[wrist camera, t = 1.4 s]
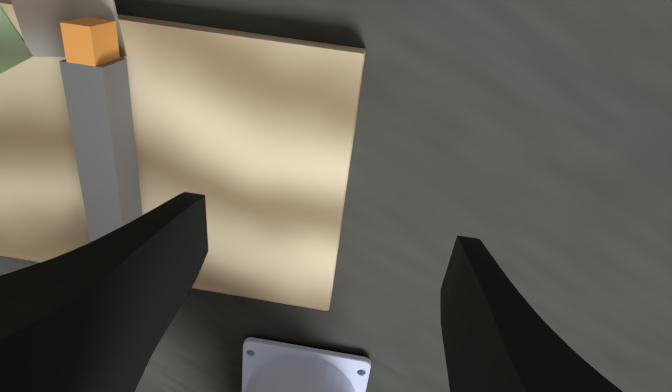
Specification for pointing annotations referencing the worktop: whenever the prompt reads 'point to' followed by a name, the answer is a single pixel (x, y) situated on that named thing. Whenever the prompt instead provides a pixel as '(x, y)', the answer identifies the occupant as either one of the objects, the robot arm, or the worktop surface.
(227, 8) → the worktop surface
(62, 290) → the robot arm
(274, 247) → the light wood flat board
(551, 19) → the worktop surface
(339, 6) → the worktop surface
